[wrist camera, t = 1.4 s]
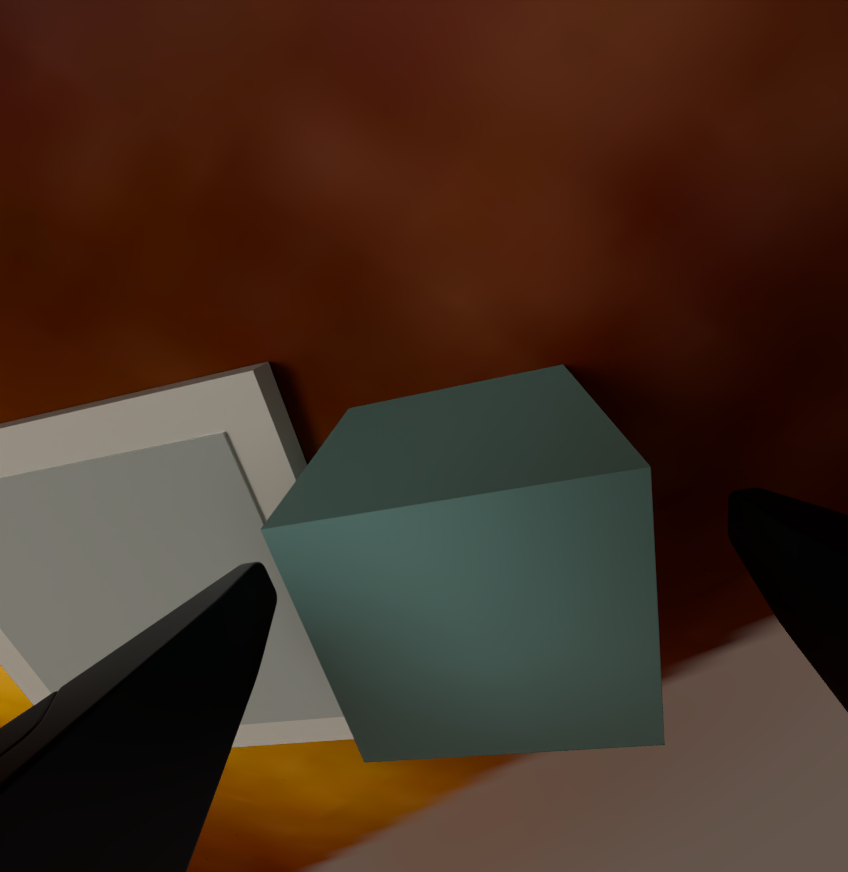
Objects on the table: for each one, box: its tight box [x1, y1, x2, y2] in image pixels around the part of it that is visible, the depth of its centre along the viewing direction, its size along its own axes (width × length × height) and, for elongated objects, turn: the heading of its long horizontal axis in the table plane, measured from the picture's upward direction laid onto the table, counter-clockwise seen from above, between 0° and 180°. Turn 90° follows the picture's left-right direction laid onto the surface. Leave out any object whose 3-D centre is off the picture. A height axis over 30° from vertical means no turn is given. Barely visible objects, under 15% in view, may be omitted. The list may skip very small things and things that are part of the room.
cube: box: [260, 365, 665, 762], centre depth 9 cm, size 5×5×5 cm
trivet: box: [0, 362, 354, 747], centre depth 13 cm, size 12×12×1 cm
